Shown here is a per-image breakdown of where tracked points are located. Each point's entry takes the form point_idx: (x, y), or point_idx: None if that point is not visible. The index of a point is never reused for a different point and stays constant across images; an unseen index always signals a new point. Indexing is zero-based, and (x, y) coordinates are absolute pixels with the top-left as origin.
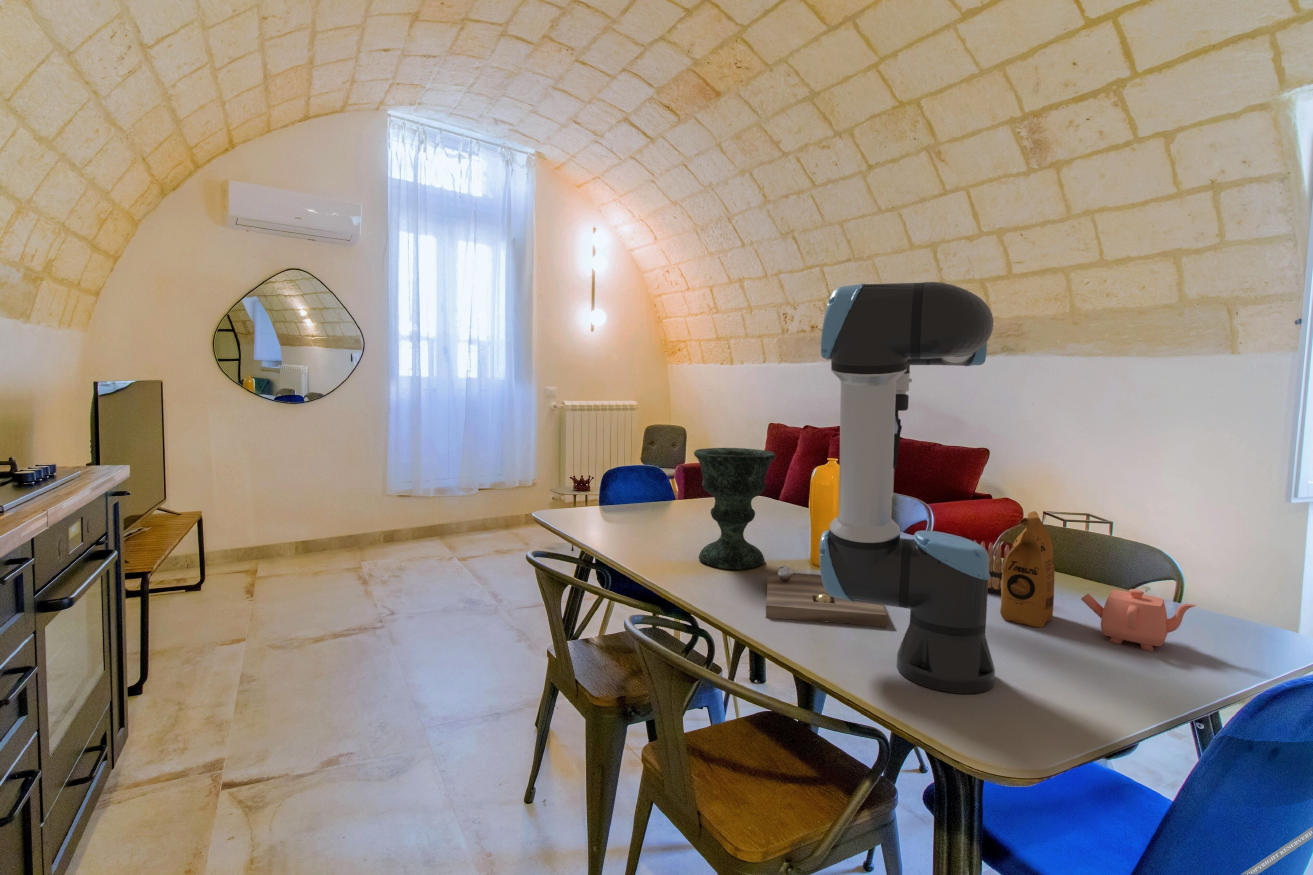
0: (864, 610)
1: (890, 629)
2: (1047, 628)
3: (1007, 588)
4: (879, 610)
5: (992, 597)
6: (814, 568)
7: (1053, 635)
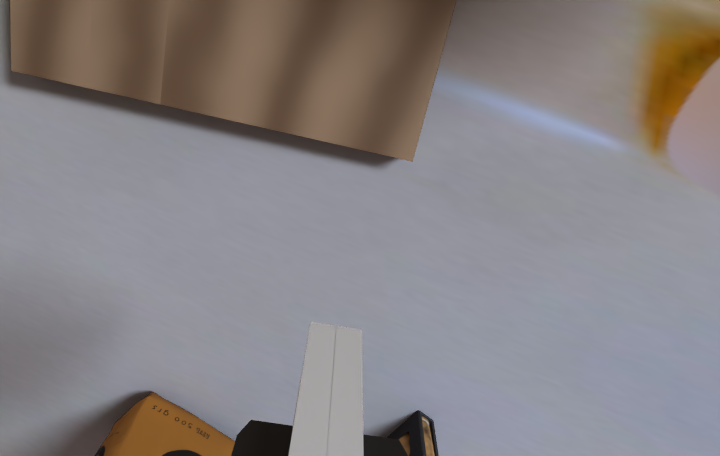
0: (37, 4)
1: None
2: None
3: (104, 452)
4: (49, 59)
5: None
6: (675, 27)
7: (68, 437)
